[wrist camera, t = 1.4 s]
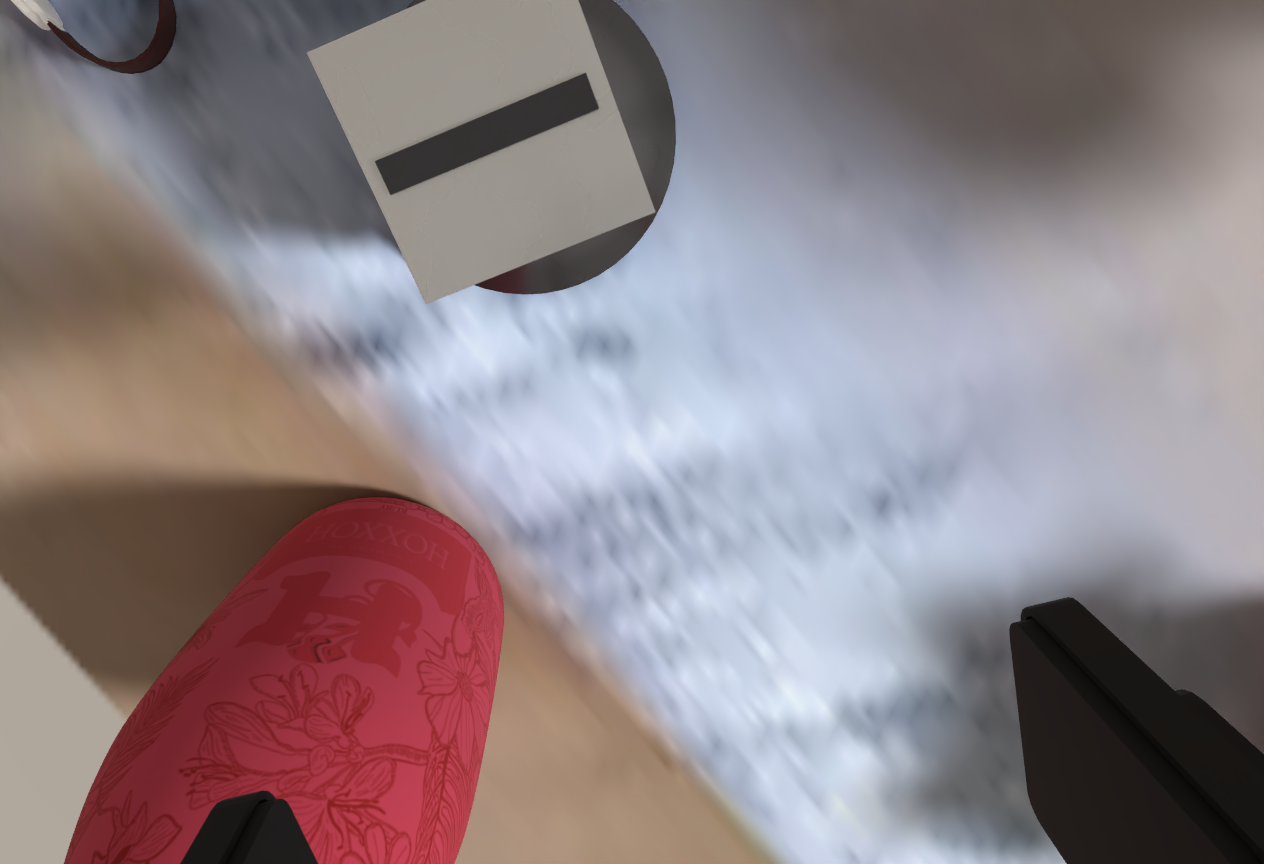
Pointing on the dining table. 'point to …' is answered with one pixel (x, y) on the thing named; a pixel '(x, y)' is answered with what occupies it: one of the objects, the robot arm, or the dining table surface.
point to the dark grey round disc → (651, 139)
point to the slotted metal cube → (483, 134)
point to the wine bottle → (320, 698)
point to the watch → (42, 13)
